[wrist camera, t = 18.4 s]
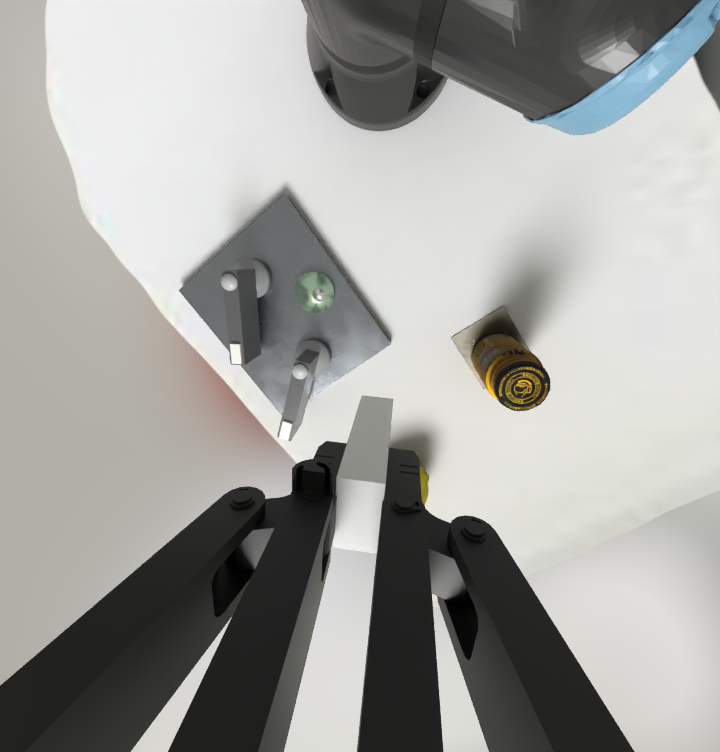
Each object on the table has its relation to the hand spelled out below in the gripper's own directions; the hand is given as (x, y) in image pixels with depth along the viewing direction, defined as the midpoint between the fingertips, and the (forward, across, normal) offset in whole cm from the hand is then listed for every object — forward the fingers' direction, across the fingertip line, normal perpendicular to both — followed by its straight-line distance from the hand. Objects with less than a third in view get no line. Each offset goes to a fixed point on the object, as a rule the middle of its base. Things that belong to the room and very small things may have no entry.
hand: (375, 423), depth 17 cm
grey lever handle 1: (+29, -18, 0) cm, 34 cm away
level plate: (+30, -14, -1) cm, 34 cm away
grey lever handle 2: (+29, -11, -10) cm, 32 cm away
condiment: (+31, +13, -3) cm, 33 cm away
